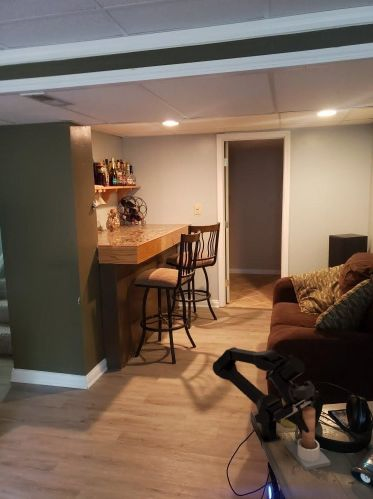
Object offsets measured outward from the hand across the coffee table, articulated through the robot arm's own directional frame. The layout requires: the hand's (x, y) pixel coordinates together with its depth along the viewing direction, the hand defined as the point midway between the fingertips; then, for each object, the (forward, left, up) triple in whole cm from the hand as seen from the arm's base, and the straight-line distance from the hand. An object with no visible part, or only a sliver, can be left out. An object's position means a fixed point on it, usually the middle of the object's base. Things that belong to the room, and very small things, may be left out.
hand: (312, 429), depth 127 cm
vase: (-21, +3, -11) cm, 24 cm away
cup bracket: (-3, 0, -11) cm, 11 cm away
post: (-1, -1, -7) cm, 7 cm away
